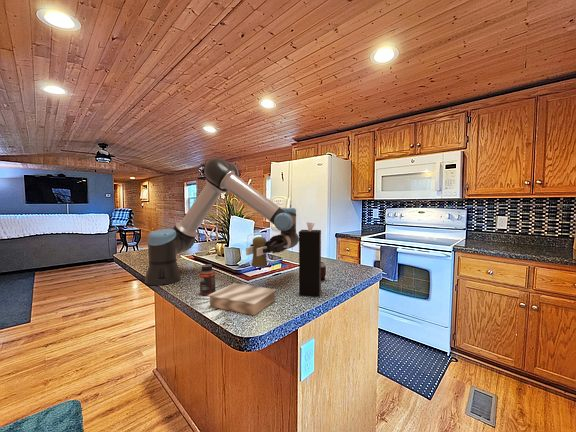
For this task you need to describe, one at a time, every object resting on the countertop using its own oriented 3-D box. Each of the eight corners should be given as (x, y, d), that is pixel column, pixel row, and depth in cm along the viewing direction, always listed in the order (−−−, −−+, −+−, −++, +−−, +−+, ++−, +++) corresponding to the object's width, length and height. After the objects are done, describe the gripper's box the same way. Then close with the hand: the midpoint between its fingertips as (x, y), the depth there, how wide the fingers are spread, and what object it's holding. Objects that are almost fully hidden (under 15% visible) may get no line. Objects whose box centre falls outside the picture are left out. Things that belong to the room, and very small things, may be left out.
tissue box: (319, 297, 100) (319, 223, 98) (298, 295, 101) (298, 223, 100) (321, 290, 107) (321, 221, 106) (301, 289, 109) (301, 221, 108)
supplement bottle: (216, 290, 108) (215, 263, 108) (214, 295, 102) (214, 266, 102) (201, 291, 107) (200, 263, 107) (198, 296, 101) (198, 267, 101)
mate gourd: (326, 278, 125) (326, 246, 124) (325, 282, 117) (325, 249, 117) (310, 277, 127) (310, 246, 126) (308, 282, 119) (308, 249, 118)
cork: (267, 267, 100) (267, 238, 99) (251, 267, 99) (250, 238, 99) (267, 263, 106) (267, 236, 105) (252, 263, 105) (251, 236, 105)
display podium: (207, 306, 91) (207, 295, 91) (234, 293, 105) (234, 283, 105) (254, 316, 83) (254, 303, 83) (276, 300, 97) (276, 289, 97)
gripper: (297, 252, 115) (272, 264, 94) (263, 250, 122) (233, 260, 101) (297, 235, 115) (272, 243, 94) (263, 233, 122) (233, 240, 100)
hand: (252, 252), depth 97 cm, fingers closed on cork, 4 cm apart
